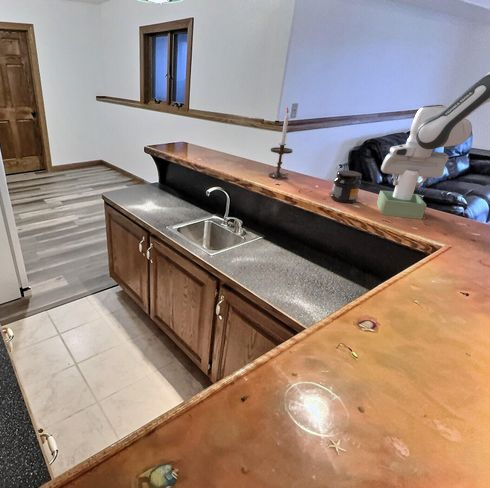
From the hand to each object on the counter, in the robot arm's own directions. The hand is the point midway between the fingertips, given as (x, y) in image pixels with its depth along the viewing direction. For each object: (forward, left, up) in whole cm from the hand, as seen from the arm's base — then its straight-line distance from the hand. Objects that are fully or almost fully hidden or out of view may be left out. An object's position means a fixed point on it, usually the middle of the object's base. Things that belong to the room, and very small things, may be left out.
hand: (405, 186), depth 138 cm
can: (0, 0, -5) cm, 5 cm away
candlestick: (+50, -35, -11) cm, 62 cm away
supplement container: (+20, -7, -11) cm, 24 cm away
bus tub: (0, 0, -11) cm, 11 cm away
